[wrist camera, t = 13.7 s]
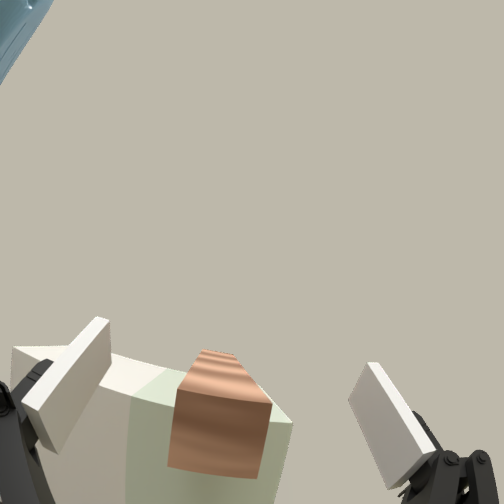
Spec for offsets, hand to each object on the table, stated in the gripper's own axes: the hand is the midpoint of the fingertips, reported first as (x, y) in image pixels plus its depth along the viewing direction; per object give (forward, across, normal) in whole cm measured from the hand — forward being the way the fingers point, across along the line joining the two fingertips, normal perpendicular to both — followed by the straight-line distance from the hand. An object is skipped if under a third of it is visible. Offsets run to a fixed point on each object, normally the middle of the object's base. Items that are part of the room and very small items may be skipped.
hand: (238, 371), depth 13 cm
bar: (+7, 0, -10) cm, 12 cm away
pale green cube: (-3, -7, -39) cm, 40 cm away
